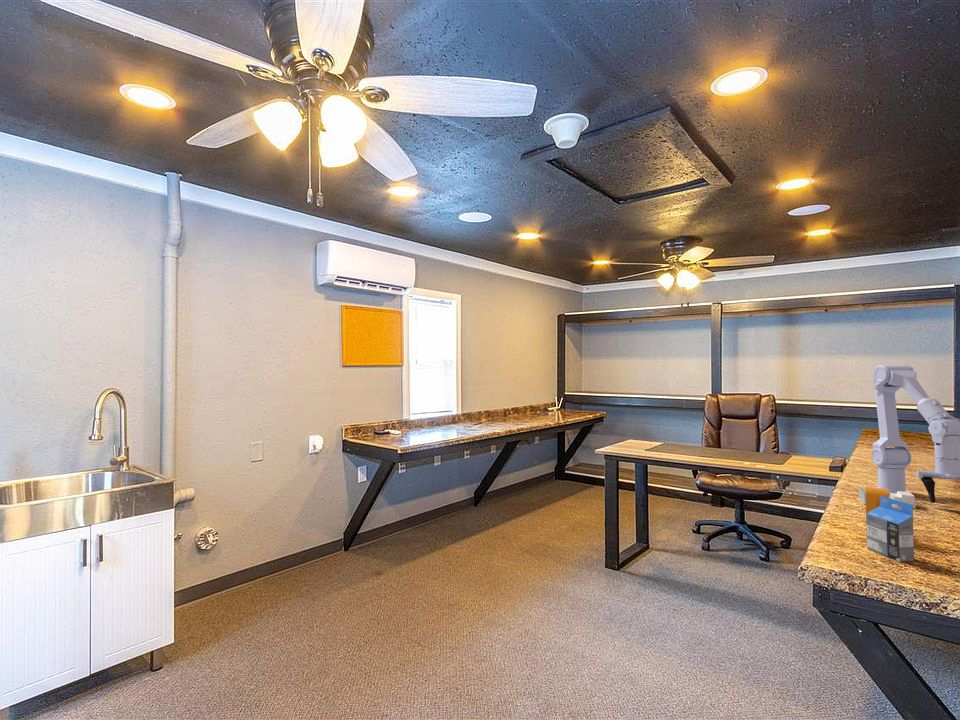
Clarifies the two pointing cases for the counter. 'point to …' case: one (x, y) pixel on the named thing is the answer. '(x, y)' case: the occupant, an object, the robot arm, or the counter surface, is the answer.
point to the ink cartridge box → (891, 530)
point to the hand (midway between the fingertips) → (949, 503)
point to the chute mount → (864, 496)
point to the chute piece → (903, 497)
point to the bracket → (874, 498)
